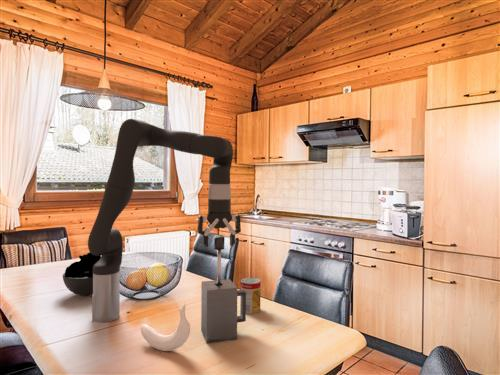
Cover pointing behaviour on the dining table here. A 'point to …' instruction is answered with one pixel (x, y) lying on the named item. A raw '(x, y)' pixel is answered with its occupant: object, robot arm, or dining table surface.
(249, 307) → the canned food
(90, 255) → the bowl of black rocks
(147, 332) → the banana
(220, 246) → the plunger
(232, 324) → the press jar
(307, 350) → the dining table surface
